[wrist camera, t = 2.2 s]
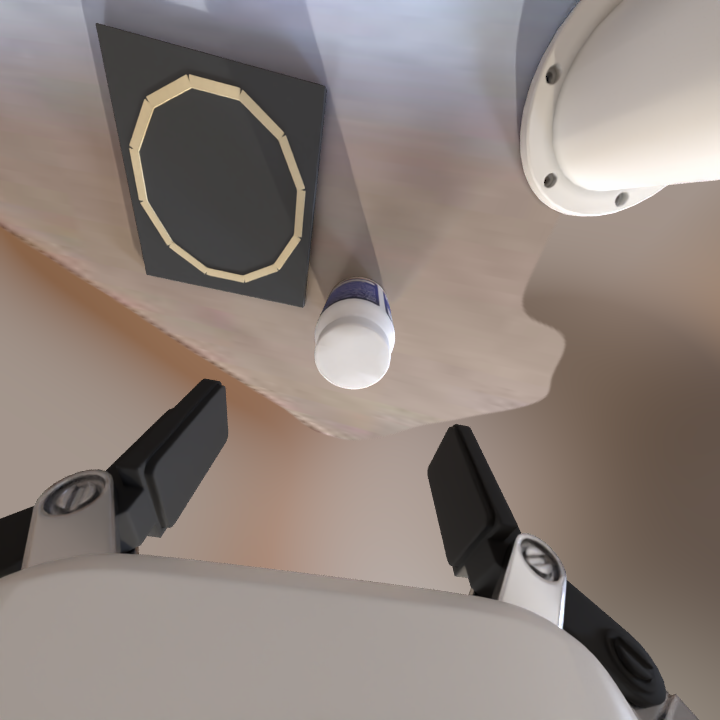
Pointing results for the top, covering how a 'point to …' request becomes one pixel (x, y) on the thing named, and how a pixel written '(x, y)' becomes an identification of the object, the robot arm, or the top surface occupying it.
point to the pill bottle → (354, 334)
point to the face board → (217, 165)
